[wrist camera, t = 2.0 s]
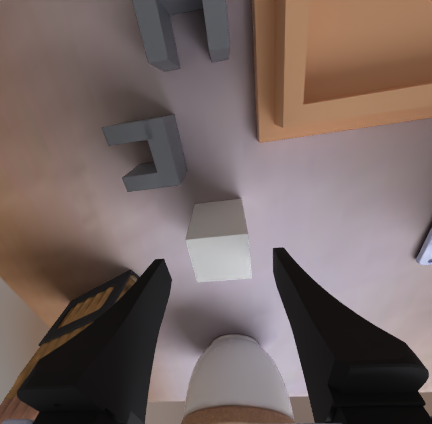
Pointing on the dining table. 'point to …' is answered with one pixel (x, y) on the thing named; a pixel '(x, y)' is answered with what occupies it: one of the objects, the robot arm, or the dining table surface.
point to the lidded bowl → (236, 386)
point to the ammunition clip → (67, 335)
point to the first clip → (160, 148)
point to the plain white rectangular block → (219, 241)
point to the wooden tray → (340, 65)
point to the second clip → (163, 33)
